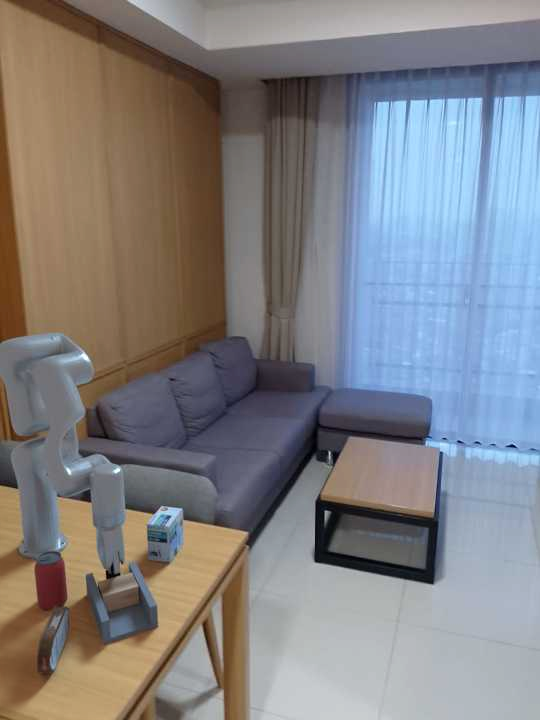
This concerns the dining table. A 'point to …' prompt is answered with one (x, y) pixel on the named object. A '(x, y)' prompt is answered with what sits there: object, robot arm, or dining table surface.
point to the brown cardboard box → (119, 592)
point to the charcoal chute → (123, 610)
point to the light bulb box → (165, 534)
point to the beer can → (50, 580)
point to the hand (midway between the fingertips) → (113, 584)
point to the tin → (53, 640)
